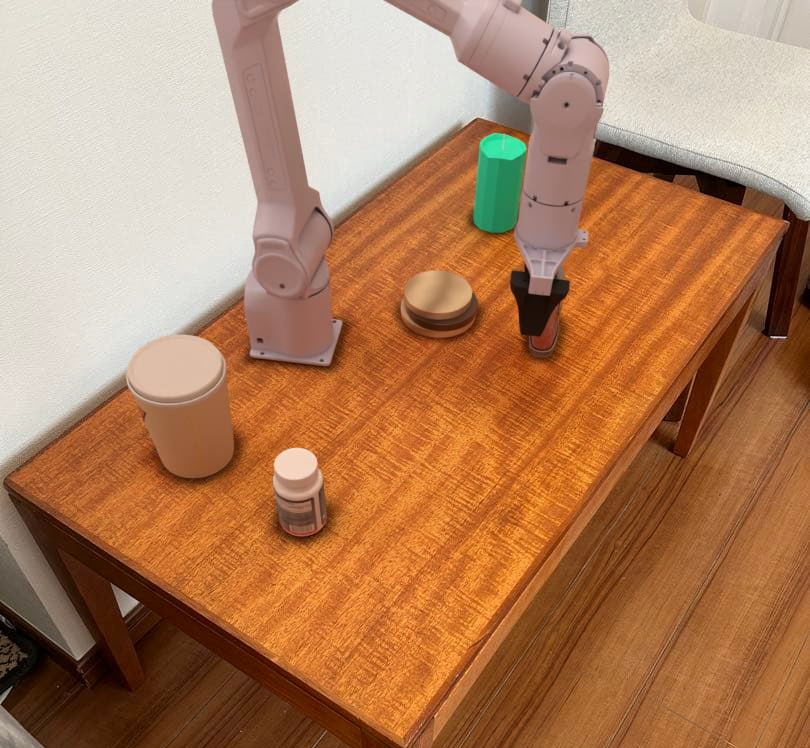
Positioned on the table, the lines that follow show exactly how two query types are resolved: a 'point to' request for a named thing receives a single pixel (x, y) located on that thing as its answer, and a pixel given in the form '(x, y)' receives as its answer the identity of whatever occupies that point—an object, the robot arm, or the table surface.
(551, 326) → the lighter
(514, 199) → the candle
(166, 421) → the coffee cup
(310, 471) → the pill bottle
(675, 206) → the table surface
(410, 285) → the tan layered disc
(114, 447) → the table surface
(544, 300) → the robot arm
